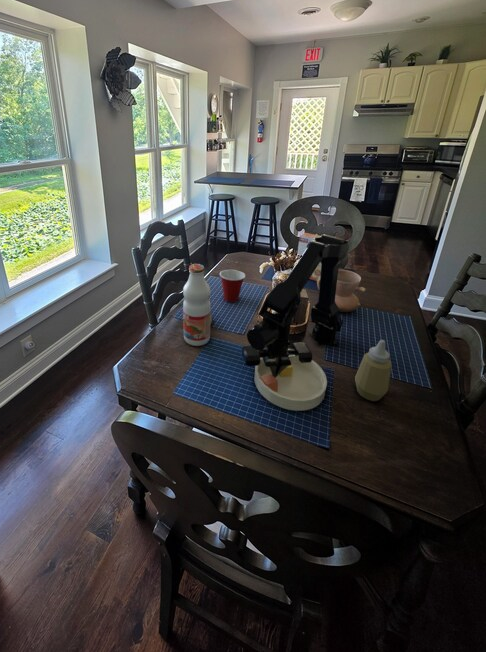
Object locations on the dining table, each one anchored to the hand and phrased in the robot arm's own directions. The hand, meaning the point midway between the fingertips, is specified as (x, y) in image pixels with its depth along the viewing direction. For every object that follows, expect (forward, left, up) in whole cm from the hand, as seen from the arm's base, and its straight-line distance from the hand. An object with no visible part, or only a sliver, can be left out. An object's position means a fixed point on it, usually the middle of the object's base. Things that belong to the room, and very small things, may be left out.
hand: (273, 376), depth 94 cm
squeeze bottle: (-25, +6, -2) cm, 26 cm away
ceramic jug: (-38, -39, -2) cm, 54 cm away
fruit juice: (+21, -22, -2) cm, 30 cm away
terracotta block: (+3, +4, -1) cm, 5 cm away
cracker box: (-38, -65, -2) cm, 75 cm away
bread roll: (+19, -32, -2) cm, 37 cm away
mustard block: (-4, -3, -1) cm, 5 cm away
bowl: (-4, +1, -1) cm, 5 cm away
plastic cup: (+4, -48, -2) cm, 48 cm away
